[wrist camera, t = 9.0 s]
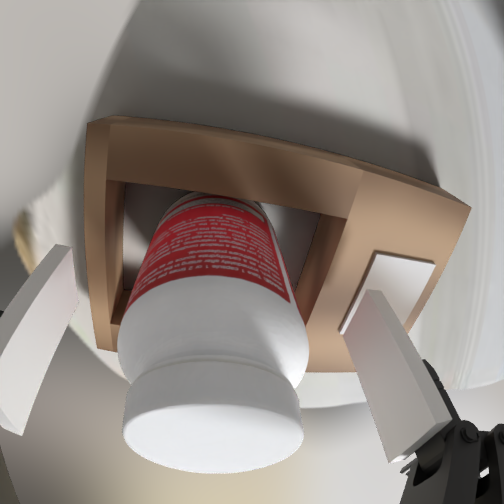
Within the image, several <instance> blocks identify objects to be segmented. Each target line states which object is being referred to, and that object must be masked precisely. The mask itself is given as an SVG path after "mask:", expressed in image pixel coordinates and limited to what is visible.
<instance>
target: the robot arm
mask: <svg viewBox="0 0 504 504" xmlns="http://www.w3.org/2000/svg"><path fill="white" fill-rule="evenodd" d="M78 303H79V300H78V294H77V287H76V279H75V271H74V262H73V252H72V247H69V246H63V245H58V244H55V245H54V247H53V248H52V249H51V250H50V251H49V253H48V254H47V255H46V256H45V258H44V259H43V260H42V261H41V263H40V264H39V265H38V266H37V268H36V269H35V270H34V271H33V273H32V274H31V275H30V277H29V278H28V279H27V281H26V282H25V284H24V285H23V286H22V287H21V289H20V290H19V291H18V293H17V294H16V296H15V297H14V298H13V300H12V301H11V303H10V304H9V306H8V307H7V309H6V310H5V311H0V425H1V426H2V427H3V428H5V429H7V430H9V431H11V432H14V433H16V434H18V435H20V436H22V435H23V432H24V429H25V426H26V423H27V420H28V417H29V414H30V412H31V409H32V406H33V403H34V401H35V398H36V396H37V393H38V390H39V388H40V385H41V382H42V381H43V378H44V376H45V373H46V371H47V369H48V366H49V364H50V362H51V359H52V357H53V355H54V353H55V350H56V348H57V346H58V344H59V342H60V340H61V337H62V335H63V333H64V331H65V329H66V327H67V325H68V323H69V321H70V319H71V317H72V315H73V313H74V311H75V309H76V307H77V305H78ZM343 338H344V341H345V343H346V346H347V348H348V351H349V354H350V356H351V359H352V361H353V364H354V367H355V369H356V372H357V375H358V377H359V380H360V383H361V385H362V388H363V391H364V393H365V396H366V399H367V402H368V404H369V407H370V410H371V413H372V416H373V419H374V421H375V424H376V426H377V430H378V433H379V436H380V439H381V442H382V445H383V448H384V451H385V454H386V457H387V460H388V463H392V462H397V461H400V460H405V459H406V458H407V457H409V456H410V455H411V454H413V453H414V452H415V453H416V455H417V458H415V459H414V460H413V461H411V462H410V463H409V464H407V465H406V466H405V467H403V468H402V470H401V471H400V473H404V472H405V471H406V470H408V469H409V468H410V471H408V472H407V473H406V475H407V476H408V479H407V482H406V486H405V489H404V492H403V495H402V498H401V501H400V504H504V424H498V425H497V426H495V427H494V428H493V429H492V430H491V431H490V432H488V431H478V429H477V427H476V426H475V425H474V424H473V423H471V422H469V421H465V420H463V421H461V419H460V418H459V416H458V414H457V412H456V410H455V408H454V406H453V404H452V402H451V400H450V398H449V396H448V394H447V392H446V390H444V386H443V385H442V383H441V381H439V377H438V375H437V373H436V372H435V370H434V368H433V367H432V366H431V365H430V364H429V363H428V362H427V361H426V360H425V359H423V360H422V359H421V357H420V355H419V354H418V352H417V350H416V348H415V347H414V345H413V343H412V341H411V340H410V338H409V336H408V334H407V333H406V331H405V329H404V327H403V326H402V324H401V322H400V321H399V319H398V317H397V316H396V314H395V312H394V311H393V309H392V307H391V306H390V304H389V303H388V301H387V299H386V298H385V296H384V294H383V293H382V291H379V290H370V289H367V290H366V292H365V294H364V296H363V298H362V300H361V302H360V304H359V306H358V308H357V310H356V312H355V314H354V316H353V317H352V319H351V321H350V323H349V325H348V327H347V329H346V331H345V333H344V334H343ZM488 467H489V474H487V475H486V476H484V477H483V478H481V477H480V472H482V471H483V470H485V469H486V468H488ZM0 504H20V502H19V500H18V497H17V495H16V492H15V490H14V487H13V485H12V481H11V479H10V476H9V473H8V470H7V467H6V464H5V461H4V457H3V454H2V451H1V447H0Z"/></svg>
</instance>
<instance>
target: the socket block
mask: <svg viewBox="0 0 504 504" xmlns="http://www.w3.org/2000/svg"><path fill="white" fill-rule="evenodd" d="M125 182H131V183H139V184H147V185H154V186H162V187H169V188H176V189H183V190H190V191H197V192H203V193H210V194H216V195H222V196H228V197H234V198H240V199H246V200H252V201H258V202H264V203H269V204H275V205H280V206H285V207H291V208H296V209H301V210H306V211H312V212H317V213H321V216H320V219H319V222H318V225H317V228H316V231H315V234H314V237H313V240H312V243H311V246H310V249H309V252H308V255H307V258H306V261H305V264H304V267H303V270H302V273H301V276H300V279H299V282H298V284H297V287H296V290H295V293H294V294H295V297H296V300H297V303H298V306H299V308H300V312H301V315H302V318H303V321H304V324H305V328H306V333H307V338H308V343H309V358H308V364H307V367H306V371H305V372H356V369H355V367H354V364H353V361H352V359H351V356H350V354H349V351H348V348H347V346H346V343H345V341H344V338H343V334H344V333H345V331H346V329H347V327H348V325H349V323H350V321H351V319H352V317H353V316H354V314H355V312H356V310H357V308H358V306H359V304H360V302H361V300H362V298H363V296H364V294H365V292H366V290H367V289H370V290H379V291H382V293H383V294H384V296H385V298H386V299H387V301H388V303H389V304H390V306H391V307H392V309H393V311H394V312H395V314H396V316H397V317H398V319H399V321H400V322H401V324H402V326H403V327H404V329H405V331H406V333H407V334H408V332H409V331H410V329H411V328H412V326H413V324H414V323H415V321H416V319H417V318H418V316H419V314H420V313H421V311H422V309H423V307H424V306H425V304H426V302H427V300H428V299H429V297H430V295H431V293H432V291H433V289H434V288H435V286H436V284H437V282H438V280H439V278H440V276H441V274H442V272H443V270H444V268H445V266H446V264H447V262H448V260H449V258H450V256H451V254H452V252H453V250H454V248H455V245H456V243H457V241H458V239H459V237H460V234H461V232H462V230H463V227H464V225H465V223H466V220H467V218H468V215H469V213H470V210H471V207H470V206H468V205H467V204H465V203H464V202H462V201H461V200H459V199H458V198H456V197H455V196H453V195H451V194H450V193H448V192H447V191H445V190H443V189H442V188H440V187H437V186H435V185H432V184H429V183H427V182H424V181H421V180H418V179H416V178H413V177H410V176H407V175H404V174H401V173H398V172H395V171H392V170H389V169H386V168H383V167H380V166H377V165H374V164H371V163H367V162H364V161H361V160H357V159H354V158H350V157H347V156H343V155H340V154H336V153H333V152H329V151H325V150H321V149H317V148H313V147H309V146H305V145H301V144H297V143H293V142H289V141H284V140H280V139H275V138H270V137H266V136H261V135H256V134H251V133H246V132H240V131H235V130H229V129H223V128H217V127H211V126H205V125H198V124H191V123H184V122H176V121H168V120H159V119H150V118H139V117H128V116H114V115H113V116H109V117H106V118H102V119H99V120H96V121H93V122H90V123H87V133H86V146H85V164H84V236H85V254H86V268H87V279H88V289H89V297H90V306H91V313H92V320H93V327H94V333H95V339H96V345H97V348H98V349H103V350H108V351H113V352H118V350H117V340H118V334H119V330H120V326H121V322H122V318H123V315H124V312H125V309H126V307H127V304H128V301H129V298H130V295H131V292H132V291H128V290H123V219H124V198H125Z"/></svg>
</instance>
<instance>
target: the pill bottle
mask: <svg viewBox="0 0 504 504" xmlns="http://www.w3.org/2000/svg"><path fill="white" fill-rule="evenodd" d="M117 350H118V358H119V362H120V365H121V368H122V370H123V373H124V375H125V376H126V378H127V380H128V381H129V383H130V384H131V385H132V386H131V387H130V389H129V391H128V393H127V396H126V403H125V412H124V419H123V428H122V433H123V437H124V440H125V442H126V443H127V444H128V446H129V447H130V448H131V449H132V450H133V451H135V452H136V453H137V454H139V455H140V456H142V457H144V458H145V459H148V460H150V461H152V462H155V463H157V464H160V465H163V466H166V467H169V468H173V469H178V470H183V471H189V472H196V473H208V474H213V473H235V472H244V471H250V470H255V469H260V468H263V467H266V466H269V465H272V464H274V463H277V462H279V461H281V460H283V459H285V458H287V457H288V456H290V455H291V454H292V453H294V452H295V451H296V450H297V449H298V448H299V446H300V445H301V443H302V441H303V437H304V430H303V424H302V419H301V413H300V405H299V398H298V396H297V394H296V392H295V390H294V389H295V388H296V387H297V385H298V384H299V382H300V381H301V379H302V377H303V375H304V373H305V371H306V367H307V364H308V358H309V343H308V338H307V333H306V328H305V324H304V321H303V318H302V315H301V312H300V308H299V306H298V303H297V300H296V297H295V294H294V291H293V287H292V285H291V281H290V278H289V275H288V272H287V269H286V266H285V262H284V259H283V256H282V253H281V250H280V247H279V243H278V240H277V237H276V234H275V231H274V229H273V226H272V224H271V222H270V220H269V219H268V217H267V215H266V214H265V212H264V211H263V210H262V209H261V208H260V207H259V206H258V205H257V204H256V203H255V202H253V201H252V200H246V199H240V198H234V197H228V196H222V195H216V194H210V193H203V192H197V191H196V192H193V193H190V194H188V195H186V196H184V197H182V198H180V199H179V200H177V201H176V202H175V203H174V204H173V205H171V206H170V207H169V208H168V210H167V211H166V212H165V213H164V215H163V217H162V218H161V220H160V222H159V224H158V226H157V228H156V230H155V233H154V235H153V238H152V240H151V243H150V245H149V248H148V250H147V253H146V255H145V258H144V260H143V263H142V265H141V268H140V271H139V273H138V276H137V279H136V282H135V284H134V287H133V290H132V292H131V295H130V298H129V301H128V304H127V307H126V309H125V312H124V315H123V318H122V322H121V326H120V330H119V334H118V340H117Z"/></svg>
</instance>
